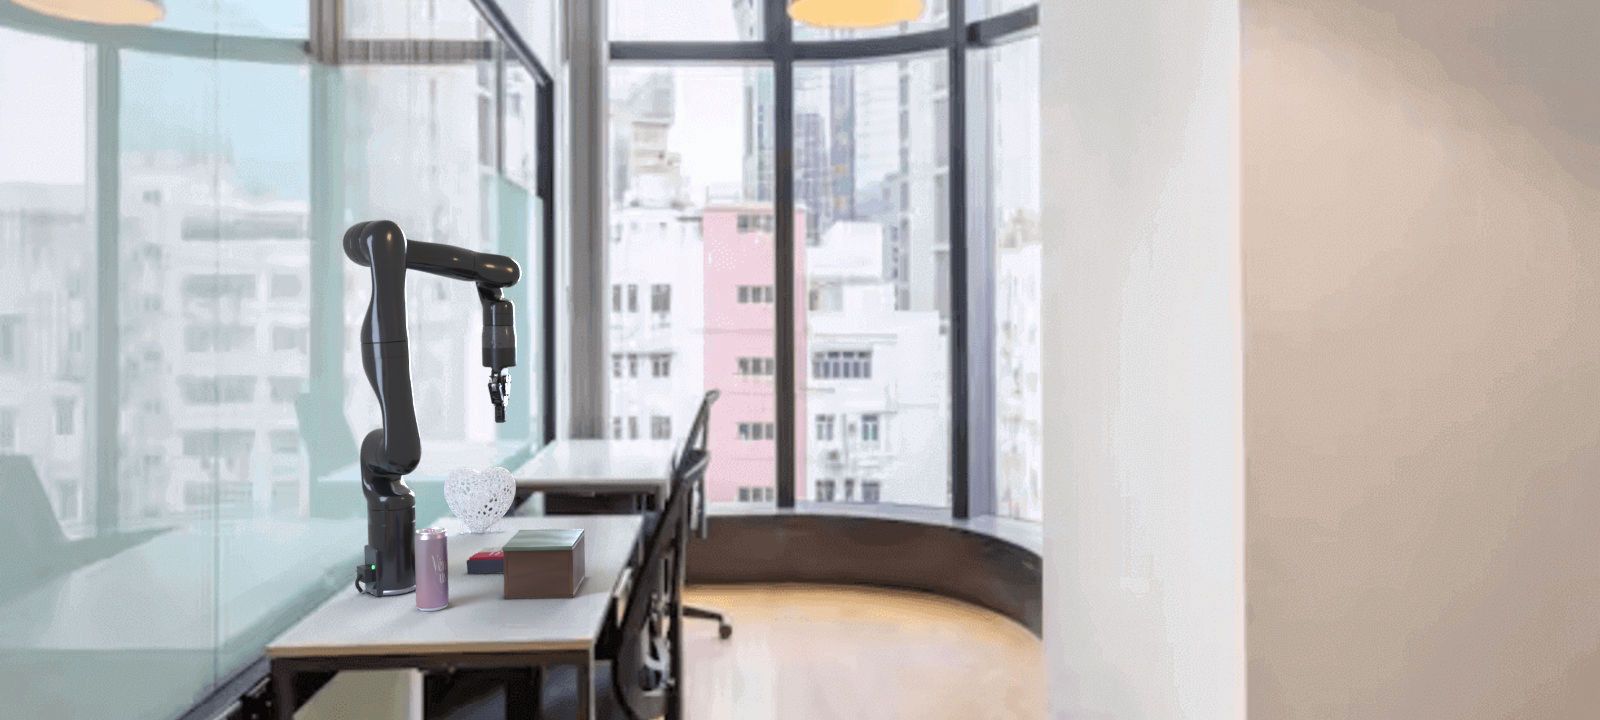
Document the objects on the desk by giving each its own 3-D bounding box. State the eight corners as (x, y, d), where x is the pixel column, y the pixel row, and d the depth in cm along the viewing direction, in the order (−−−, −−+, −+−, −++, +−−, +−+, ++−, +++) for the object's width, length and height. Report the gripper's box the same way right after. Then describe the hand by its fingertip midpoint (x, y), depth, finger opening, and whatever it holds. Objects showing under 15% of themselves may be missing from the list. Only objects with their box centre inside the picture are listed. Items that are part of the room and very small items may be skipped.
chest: (573, 597, 213) (572, 549, 212) (504, 599, 212) (503, 550, 212) (585, 578, 228) (584, 532, 228) (520, 579, 228) (519, 533, 227)
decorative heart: (439, 538, 270) (438, 470, 269) (450, 529, 281) (449, 464, 280) (512, 536, 271) (510, 469, 270) (520, 527, 282) (519, 463, 281)
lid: (571, 549, 211) (571, 545, 211) (502, 551, 211) (502, 547, 211) (584, 532, 228) (584, 528, 228) (519, 533, 227) (519, 529, 227)
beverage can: (437, 601, 211) (436, 526, 210) (455, 606, 207) (453, 529, 206) (410, 608, 206) (408, 531, 205) (427, 613, 202) (425, 535, 202)
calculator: (483, 546, 243) (548, 543, 242) (484, 565, 243) (549, 562, 242) (465, 557, 232) (533, 554, 231) (466, 577, 232) (534, 574, 231)
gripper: (509, 346, 234) (511, 425, 235) (522, 344, 248) (523, 419, 248) (474, 346, 234) (476, 425, 235) (489, 345, 247) (490, 419, 248)
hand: (500, 422), depth 242 cm, fingers closed
